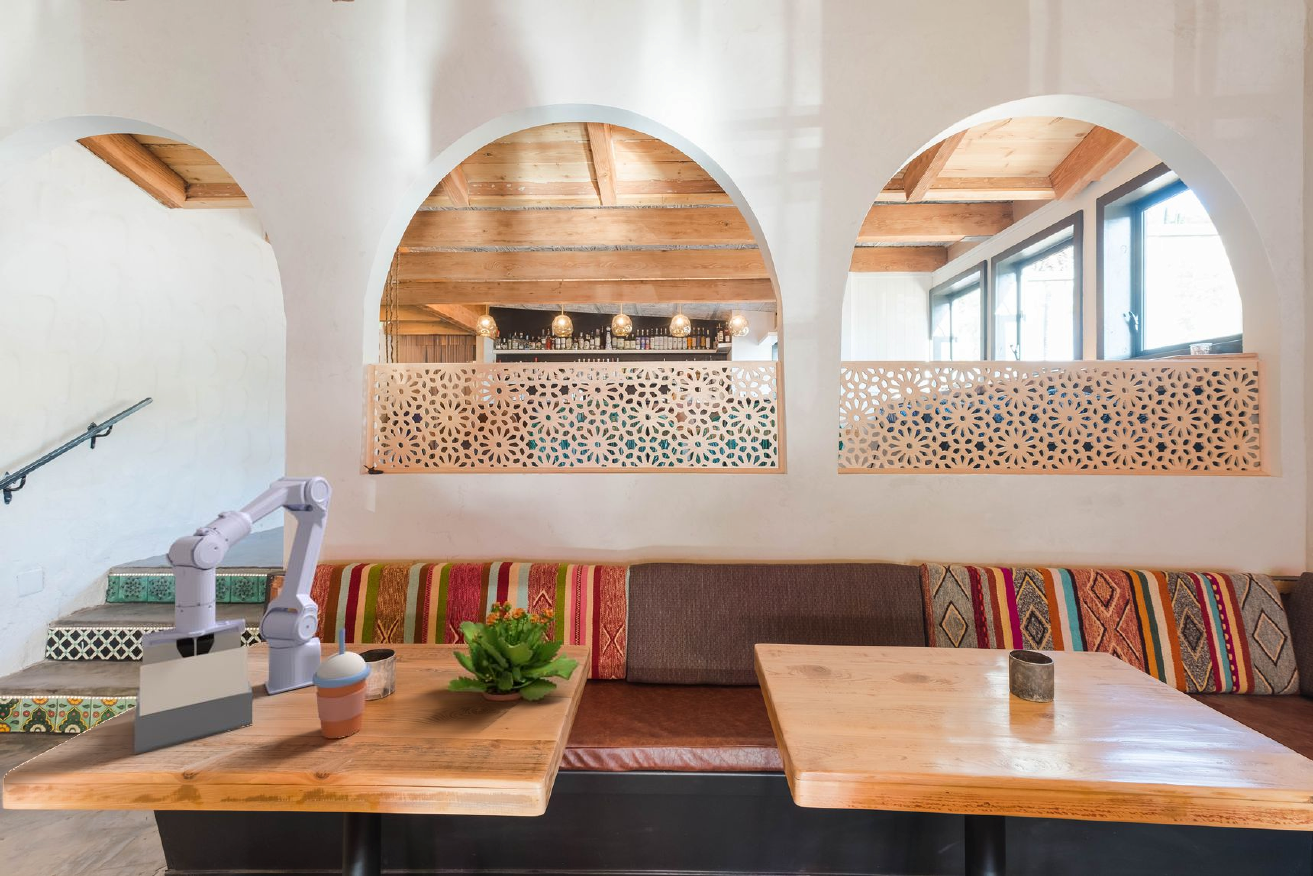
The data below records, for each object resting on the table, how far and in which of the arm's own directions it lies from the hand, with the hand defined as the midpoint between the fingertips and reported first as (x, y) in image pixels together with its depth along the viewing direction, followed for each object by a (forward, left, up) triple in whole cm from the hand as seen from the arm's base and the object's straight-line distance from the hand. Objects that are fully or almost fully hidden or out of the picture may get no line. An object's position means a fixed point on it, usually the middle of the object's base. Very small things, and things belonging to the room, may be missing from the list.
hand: (195, 679), depth 106 cm
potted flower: (-49, +21, -9) cm, 54 cm away
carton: (0, -3, -9) cm, 9 cm away
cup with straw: (-20, +18, -9) cm, 28 cm away
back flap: (0, -10, +1) cm, 10 cm away
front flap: (0, +4, +1) cm, 4 cm away
